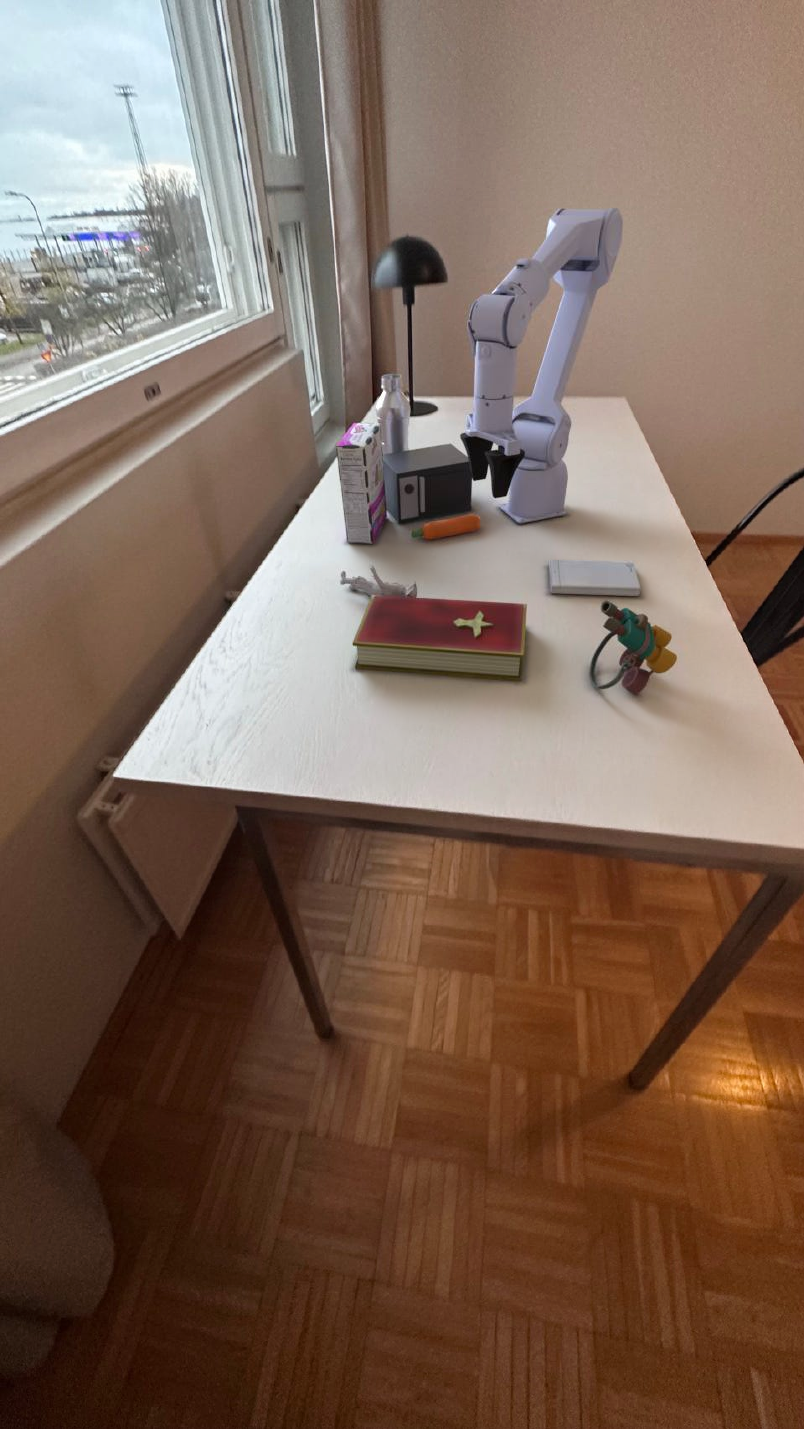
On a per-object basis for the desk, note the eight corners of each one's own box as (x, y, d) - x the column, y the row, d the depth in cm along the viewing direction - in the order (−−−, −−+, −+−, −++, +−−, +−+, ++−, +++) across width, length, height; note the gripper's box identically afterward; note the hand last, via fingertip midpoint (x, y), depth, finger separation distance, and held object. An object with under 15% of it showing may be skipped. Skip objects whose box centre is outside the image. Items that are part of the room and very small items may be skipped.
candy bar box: (361, 516, 116) (353, 421, 105) (387, 517, 115) (382, 422, 104) (344, 543, 108) (334, 444, 97) (373, 545, 107) (365, 445, 96)
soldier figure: (364, 583, 99) (431, 575, 93) (361, 613, 98) (428, 607, 92) (334, 566, 93) (403, 556, 86) (330, 598, 92) (400, 590, 85)
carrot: (477, 528, 111) (476, 512, 110) (484, 529, 108) (482, 513, 107) (410, 542, 108) (408, 525, 107) (415, 543, 105) (413, 526, 104)
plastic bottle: (374, 492, 124) (367, 380, 111) (388, 479, 128) (382, 371, 115) (405, 496, 122) (401, 382, 109) (417, 483, 126) (415, 372, 113)
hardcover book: (374, 617, 90) (372, 591, 87) (524, 627, 86) (527, 600, 84) (355, 668, 81) (352, 641, 78) (521, 681, 78) (524, 653, 75)
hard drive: (633, 560, 96) (550, 558, 97) (641, 587, 90) (552, 584, 91) (631, 570, 97) (548, 567, 99) (638, 598, 91) (550, 594, 92)
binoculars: (620, 717, 75) (687, 664, 69) (560, 679, 73) (622, 621, 66) (615, 670, 82) (674, 617, 75) (559, 634, 80) (615, 577, 73)
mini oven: (473, 512, 115) (474, 462, 109) (400, 526, 112) (398, 475, 106) (450, 491, 123) (450, 443, 117) (381, 503, 120) (378, 455, 114)
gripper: (448, 385, 95) (448, 476, 104) (490, 411, 84) (485, 509, 93) (491, 379, 96) (487, 469, 105) (537, 404, 86) (528, 501, 95)
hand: (489, 487), depth 99 cm, fingers open, 7 cm apart
